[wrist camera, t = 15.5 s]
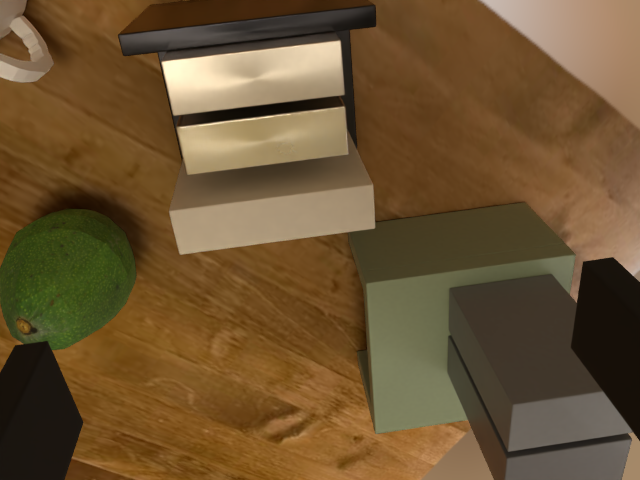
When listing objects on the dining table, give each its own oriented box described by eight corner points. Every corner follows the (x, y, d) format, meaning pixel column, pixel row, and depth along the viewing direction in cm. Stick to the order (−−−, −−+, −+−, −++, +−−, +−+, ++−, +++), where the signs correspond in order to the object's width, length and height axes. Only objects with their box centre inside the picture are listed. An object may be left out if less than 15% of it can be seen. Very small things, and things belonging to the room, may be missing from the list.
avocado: (108, 169, 40) (59, 259, 29) (164, 258, 44) (138, 365, 33) (6, 212, 40) (-77, 314, 30) (70, 295, 44) (16, 412, 34)
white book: (339, 111, 39) (373, 184, 28) (342, 146, 40) (375, 228, 29) (189, 130, 38) (168, 211, 28) (197, 165, 39) (179, 255, 29)
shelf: (525, 201, 45) (680, 361, 29) (511, 341, 52) (630, 533, 36) (347, 225, 44) (404, 403, 28) (357, 363, 51) (408, 569, 35)
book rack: (344, -18, 36) (384, 10, 25) (359, 212, 44) (394, 305, 33) (149, 4, 35) (108, 42, 25) (200, 233, 43) (185, 335, 33)
